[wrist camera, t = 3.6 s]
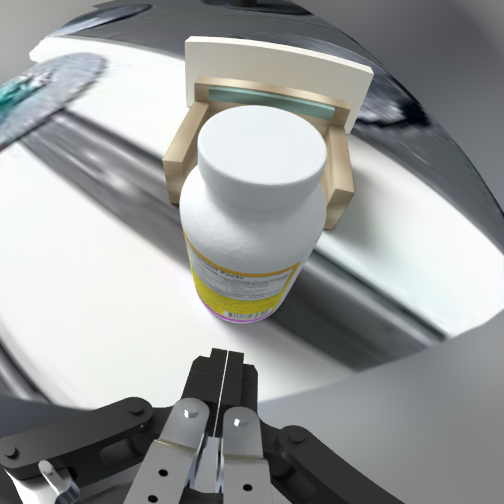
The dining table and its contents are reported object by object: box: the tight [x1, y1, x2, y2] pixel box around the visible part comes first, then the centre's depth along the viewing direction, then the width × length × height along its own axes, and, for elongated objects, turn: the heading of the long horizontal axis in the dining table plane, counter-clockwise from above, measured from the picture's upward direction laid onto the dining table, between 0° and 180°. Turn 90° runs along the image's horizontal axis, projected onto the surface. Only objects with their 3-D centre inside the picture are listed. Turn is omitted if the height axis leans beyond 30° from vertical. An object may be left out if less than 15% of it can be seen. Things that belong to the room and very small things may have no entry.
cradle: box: [163, 76, 355, 230], centre depth 23 cm, size 14×10×7 cm
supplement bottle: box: [180, 105, 327, 324], centre depth 15 cm, size 7×7×13 cm
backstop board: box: [185, 36, 374, 134], centre depth 28 cm, size 20×2×9 cm, turn 82°
